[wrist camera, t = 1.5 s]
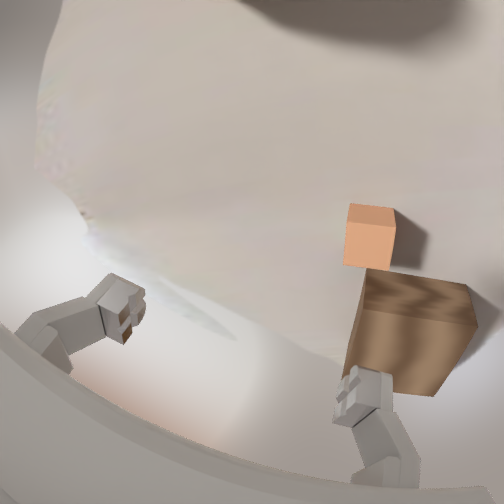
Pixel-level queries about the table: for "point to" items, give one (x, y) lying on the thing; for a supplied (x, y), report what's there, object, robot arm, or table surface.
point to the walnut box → (410, 329)
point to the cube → (369, 236)
